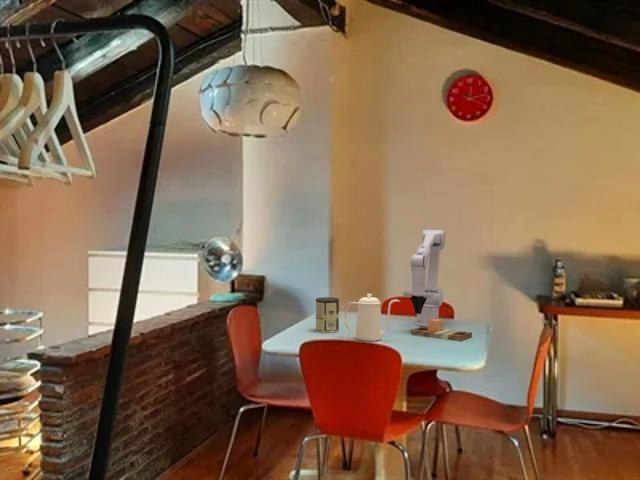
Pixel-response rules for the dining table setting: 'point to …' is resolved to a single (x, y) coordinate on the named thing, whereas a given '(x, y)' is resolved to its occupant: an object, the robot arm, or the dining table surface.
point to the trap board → (442, 334)
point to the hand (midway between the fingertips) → (418, 313)
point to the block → (434, 325)
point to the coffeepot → (369, 319)
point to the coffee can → (327, 315)
